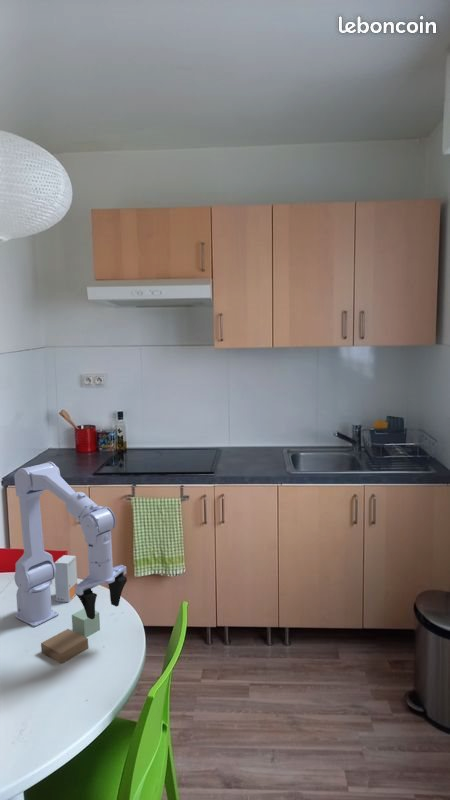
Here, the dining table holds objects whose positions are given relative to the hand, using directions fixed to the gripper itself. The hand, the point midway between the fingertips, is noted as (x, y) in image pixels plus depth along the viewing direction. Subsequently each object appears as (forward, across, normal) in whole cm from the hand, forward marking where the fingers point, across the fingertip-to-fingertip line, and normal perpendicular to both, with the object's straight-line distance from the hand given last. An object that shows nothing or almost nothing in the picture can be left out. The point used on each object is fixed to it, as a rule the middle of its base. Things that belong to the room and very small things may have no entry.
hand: (103, 611), depth 139 cm
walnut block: (+10, -6, +8) cm, 14 cm away
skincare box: (+10, +12, +31) cm, 35 cm away
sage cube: (+10, +3, +11) cm, 15 cm away
